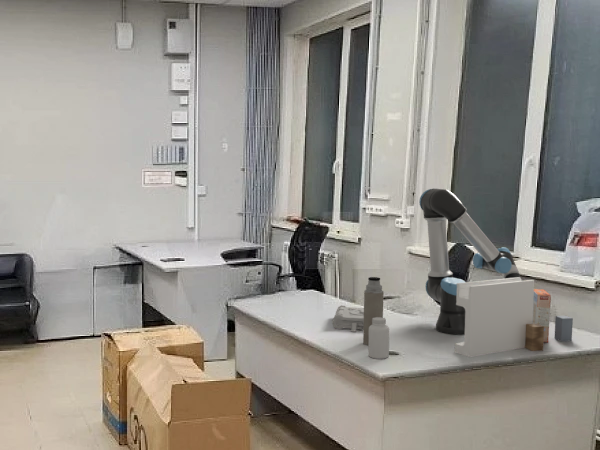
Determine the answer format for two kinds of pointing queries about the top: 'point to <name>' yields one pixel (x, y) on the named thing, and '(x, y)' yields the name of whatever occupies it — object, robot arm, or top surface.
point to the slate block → (563, 328)
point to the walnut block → (534, 337)
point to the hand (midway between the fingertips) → (529, 319)
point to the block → (495, 315)
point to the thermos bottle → (372, 305)
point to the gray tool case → (349, 318)
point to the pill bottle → (378, 339)
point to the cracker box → (542, 310)
